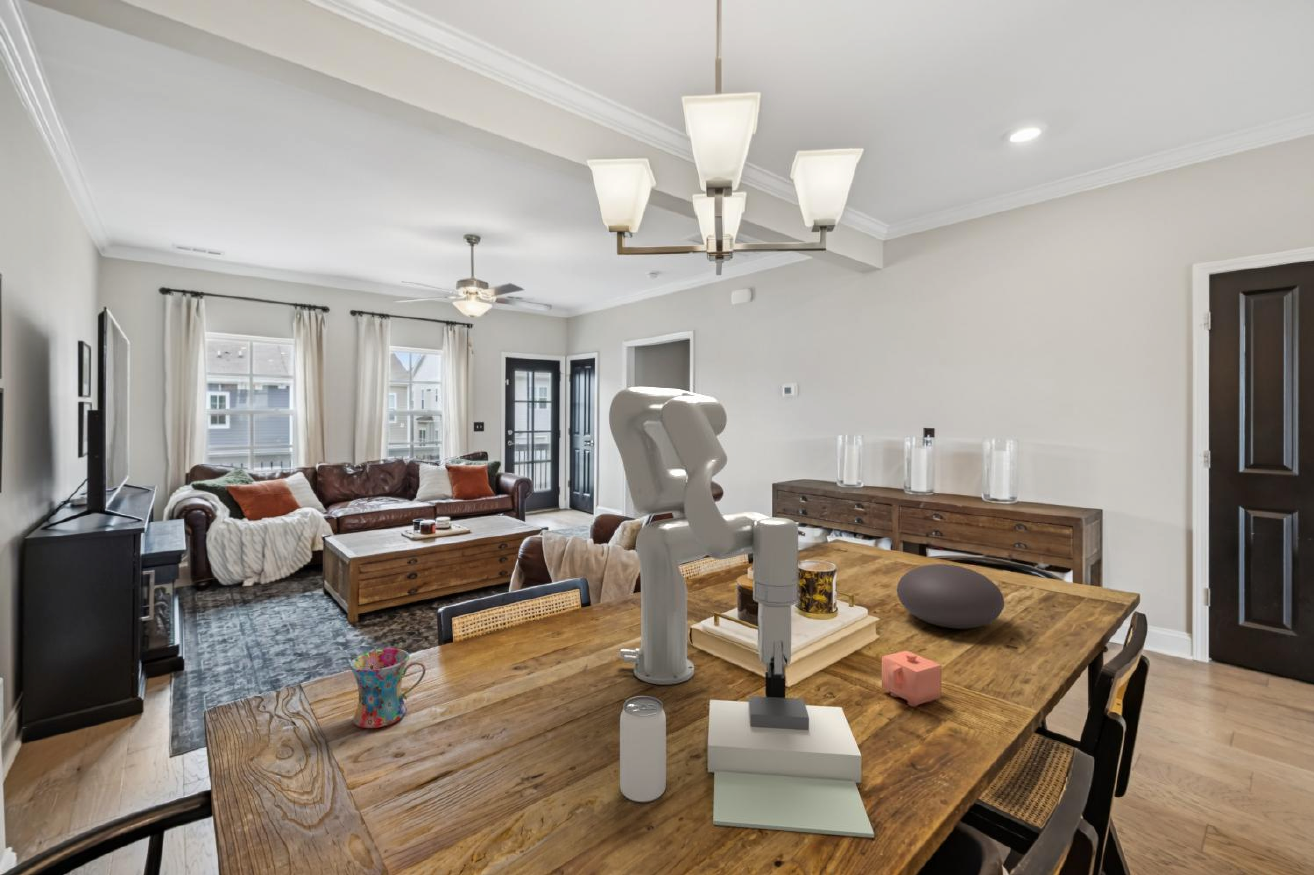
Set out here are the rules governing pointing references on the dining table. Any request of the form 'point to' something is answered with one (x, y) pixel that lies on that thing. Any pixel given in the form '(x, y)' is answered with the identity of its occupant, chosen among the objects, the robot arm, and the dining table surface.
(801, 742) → the plate
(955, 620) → the flattened ellipsoid
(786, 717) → the tile
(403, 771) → the dining table surface
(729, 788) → the mat
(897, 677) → the pink cube teapot
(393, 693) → the mug
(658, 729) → the can
